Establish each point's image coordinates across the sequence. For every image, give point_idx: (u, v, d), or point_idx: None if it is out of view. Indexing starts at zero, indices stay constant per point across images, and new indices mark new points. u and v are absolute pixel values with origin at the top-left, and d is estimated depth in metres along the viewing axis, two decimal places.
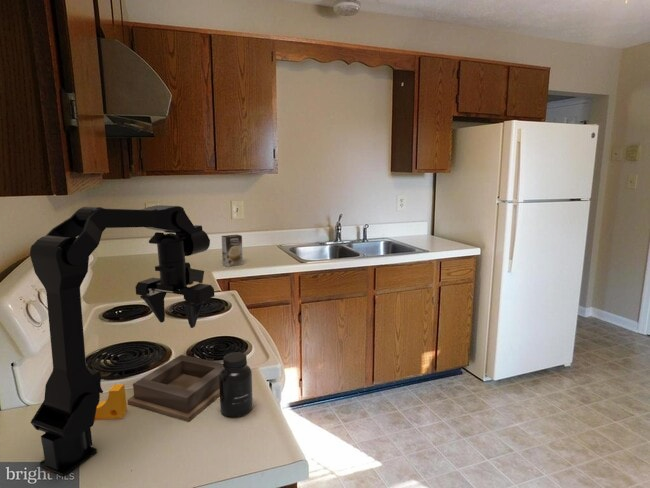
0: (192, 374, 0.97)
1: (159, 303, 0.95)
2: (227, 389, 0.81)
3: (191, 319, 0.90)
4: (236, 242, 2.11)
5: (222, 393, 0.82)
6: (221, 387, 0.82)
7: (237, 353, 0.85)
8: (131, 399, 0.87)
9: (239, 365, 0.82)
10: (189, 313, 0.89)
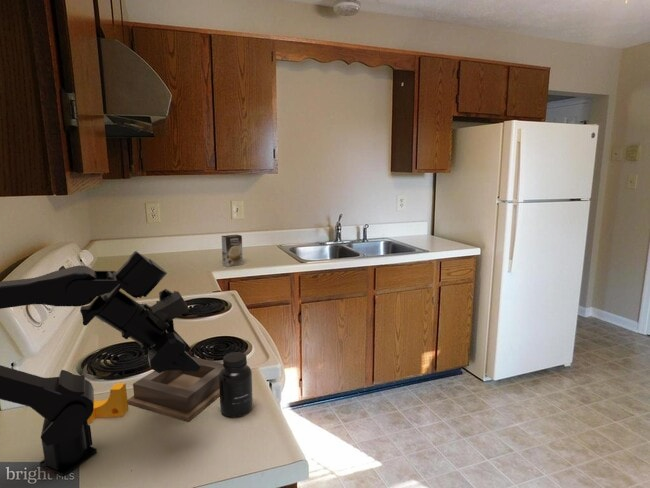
0: (192, 374, 0.97)
1: None
2: (227, 389, 0.81)
3: (185, 369, 0.73)
4: (236, 242, 2.11)
5: (222, 393, 0.82)
6: (221, 387, 0.82)
7: (237, 353, 0.85)
8: (131, 399, 0.87)
9: (239, 365, 0.82)
10: None
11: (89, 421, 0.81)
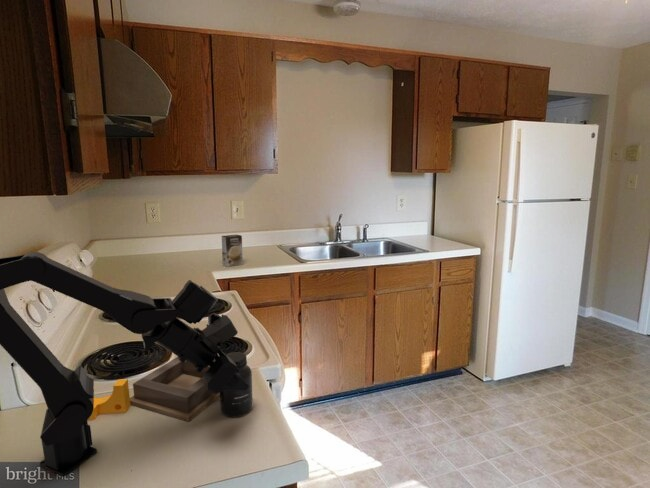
0: (192, 374, 0.97)
1: None
2: None
3: (236, 389, 0.79)
4: (236, 242, 2.11)
5: (222, 393, 0.82)
6: None
7: (237, 353, 0.85)
8: (131, 399, 0.87)
9: (239, 365, 0.82)
10: None
11: (92, 417, 0.82)
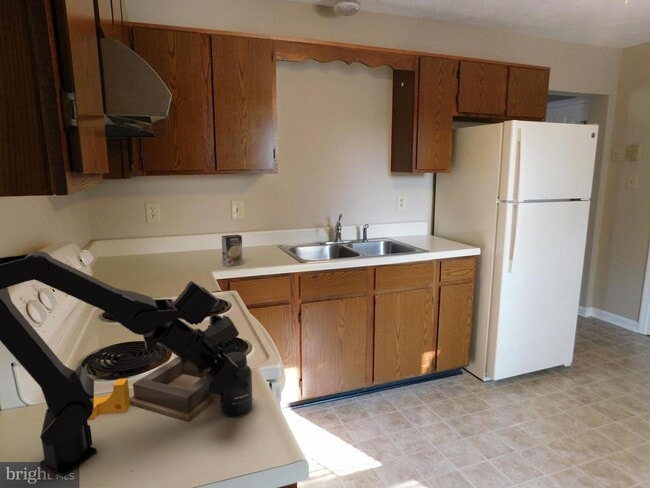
0: (192, 374, 0.97)
1: None
2: (227, 389, 0.81)
3: (235, 387, 0.80)
4: (236, 242, 2.11)
5: (222, 393, 0.82)
6: None
7: (237, 353, 0.85)
8: (131, 399, 0.87)
9: (239, 365, 0.82)
10: None
11: (92, 417, 0.82)
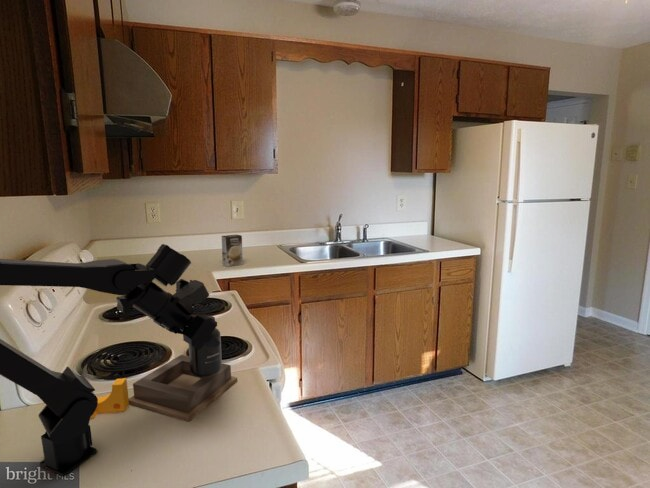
0: (192, 374, 0.97)
1: (186, 326, 0.88)
2: (200, 349, 0.84)
3: (209, 345, 0.83)
4: (236, 242, 2.11)
5: (194, 354, 0.85)
6: (192, 348, 0.85)
7: None
8: (131, 399, 0.87)
9: None
10: None
11: (91, 416, 0.82)
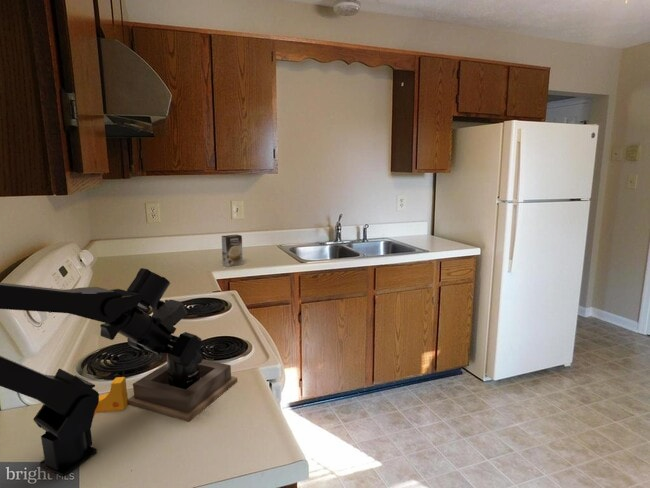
0: None
1: None
2: (181, 369, 0.87)
3: (194, 362, 0.86)
4: (236, 242, 2.11)
5: (175, 375, 0.87)
6: (173, 370, 0.87)
7: None
8: (131, 399, 0.87)
9: None
10: None
11: None
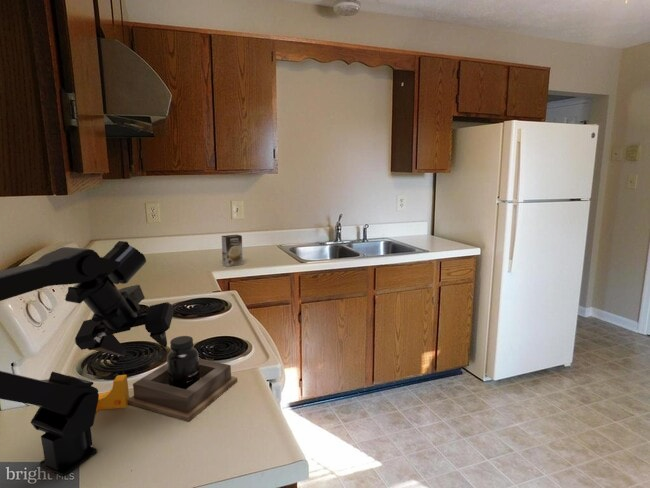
0: None
1: (112, 342, 0.83)
2: (181, 369, 0.87)
3: (163, 341, 0.83)
4: (236, 242, 2.11)
5: (175, 375, 0.87)
6: (173, 370, 0.87)
7: (181, 337, 0.91)
8: (131, 399, 0.87)
9: (189, 345, 0.89)
10: (160, 339, 0.81)
11: None
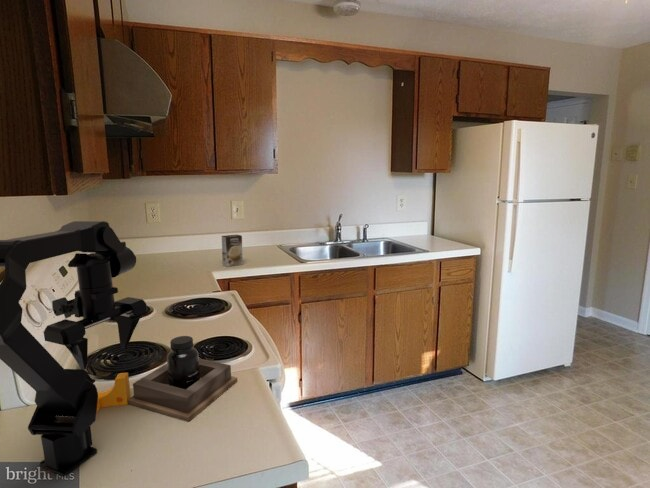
0: None
1: None
2: (181, 369, 0.87)
3: None
4: (236, 242, 2.11)
5: (175, 375, 0.87)
6: (173, 370, 0.87)
7: (181, 337, 0.91)
8: (131, 399, 0.87)
9: (189, 345, 0.89)
10: (133, 329, 0.85)
11: None
